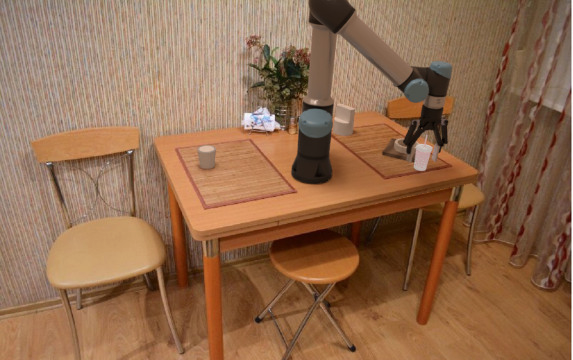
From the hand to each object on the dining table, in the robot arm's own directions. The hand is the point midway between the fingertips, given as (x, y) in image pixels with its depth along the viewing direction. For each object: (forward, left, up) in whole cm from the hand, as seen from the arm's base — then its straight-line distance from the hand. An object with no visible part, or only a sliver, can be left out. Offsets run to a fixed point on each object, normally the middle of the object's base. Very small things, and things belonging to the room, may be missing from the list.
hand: (421, 160), depth 173 cm
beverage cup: (0, 0, -3) cm, 3 cm away
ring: (-8, +12, -2) cm, 14 cm away
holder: (-8, +12, -3) cm, 15 cm away
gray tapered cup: (-72, -39, -3) cm, 82 cm away
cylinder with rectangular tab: (-38, +19, -3) cm, 43 cm away
